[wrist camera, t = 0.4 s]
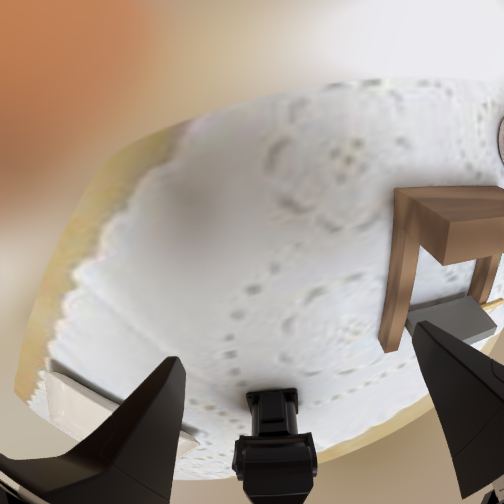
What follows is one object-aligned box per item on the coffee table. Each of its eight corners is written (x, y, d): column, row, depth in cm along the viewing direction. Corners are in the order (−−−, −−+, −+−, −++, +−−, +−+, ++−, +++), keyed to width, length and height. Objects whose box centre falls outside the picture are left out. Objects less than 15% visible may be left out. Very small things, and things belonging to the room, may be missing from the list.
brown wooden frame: (481, 309, 27) (511, 346, 19) (378, 338, 28) (401, 392, 21) (509, 186, 19) (558, 211, 12) (394, 188, 20) (449, 222, 13)
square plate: (55, 410, 42) (49, 422, 39) (53, 354, 32) (42, 371, 28) (158, 459, 48) (156, 472, 45) (205, 427, 38) (202, 447, 34)
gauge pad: (491, 295, 24) (516, 323, 19) (402, 321, 25) (424, 360, 20) (494, 287, 24) (520, 315, 18) (404, 312, 25) (428, 352, 19)
